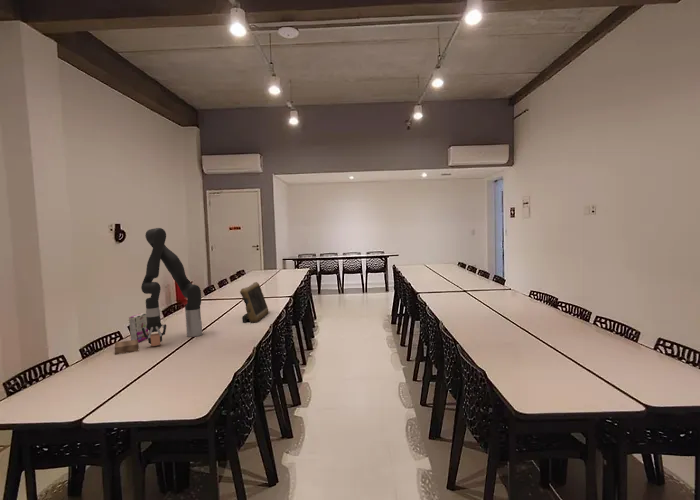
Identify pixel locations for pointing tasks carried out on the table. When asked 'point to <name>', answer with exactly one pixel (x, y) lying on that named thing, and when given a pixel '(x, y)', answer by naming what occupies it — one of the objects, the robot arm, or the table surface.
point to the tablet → (254, 303)
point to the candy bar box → (138, 326)
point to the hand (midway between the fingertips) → (155, 342)
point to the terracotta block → (155, 339)
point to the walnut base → (126, 346)
